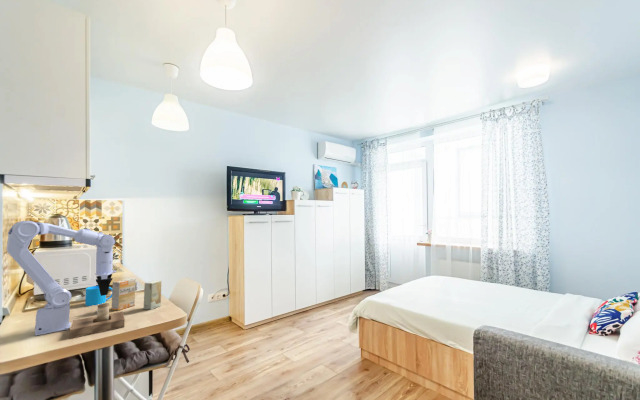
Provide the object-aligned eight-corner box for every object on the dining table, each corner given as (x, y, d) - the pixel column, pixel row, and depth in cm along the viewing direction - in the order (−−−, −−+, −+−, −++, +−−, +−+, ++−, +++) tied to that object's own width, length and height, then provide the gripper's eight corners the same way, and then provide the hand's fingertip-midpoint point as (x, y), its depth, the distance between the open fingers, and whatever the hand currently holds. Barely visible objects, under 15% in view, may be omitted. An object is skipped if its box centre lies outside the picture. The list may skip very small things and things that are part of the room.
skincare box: (150, 310, 129) (151, 283, 130) (143, 309, 130) (143, 283, 131) (161, 305, 135) (162, 280, 136) (153, 305, 136) (154, 280, 137)
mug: (87, 307, 135) (88, 290, 136) (83, 304, 140) (83, 287, 141) (116, 300, 145) (117, 285, 145) (111, 298, 150) (111, 283, 150)
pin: (97, 327, 107) (98, 306, 107) (96, 325, 110) (97, 304, 110) (109, 325, 109) (109, 304, 110) (107, 322, 112) (108, 302, 113)
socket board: (69, 338, 99) (70, 329, 99) (72, 328, 108) (73, 320, 109) (124, 327, 109) (124, 319, 109) (122, 318, 118) (123, 311, 118)
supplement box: (118, 311, 128) (119, 282, 129) (111, 310, 130) (112, 281, 131) (135, 305, 136) (136, 278, 137) (128, 304, 138) (129, 278, 139)
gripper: (116, 262, 118) (115, 295, 117) (115, 258, 129) (115, 288, 129) (95, 264, 114) (94, 298, 113) (96, 260, 125) (95, 291, 124)
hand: (104, 293), depth 120 cm, fingers open, 7 cm apart
